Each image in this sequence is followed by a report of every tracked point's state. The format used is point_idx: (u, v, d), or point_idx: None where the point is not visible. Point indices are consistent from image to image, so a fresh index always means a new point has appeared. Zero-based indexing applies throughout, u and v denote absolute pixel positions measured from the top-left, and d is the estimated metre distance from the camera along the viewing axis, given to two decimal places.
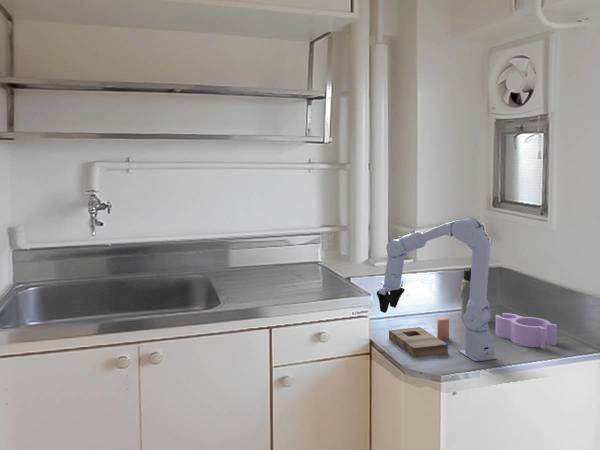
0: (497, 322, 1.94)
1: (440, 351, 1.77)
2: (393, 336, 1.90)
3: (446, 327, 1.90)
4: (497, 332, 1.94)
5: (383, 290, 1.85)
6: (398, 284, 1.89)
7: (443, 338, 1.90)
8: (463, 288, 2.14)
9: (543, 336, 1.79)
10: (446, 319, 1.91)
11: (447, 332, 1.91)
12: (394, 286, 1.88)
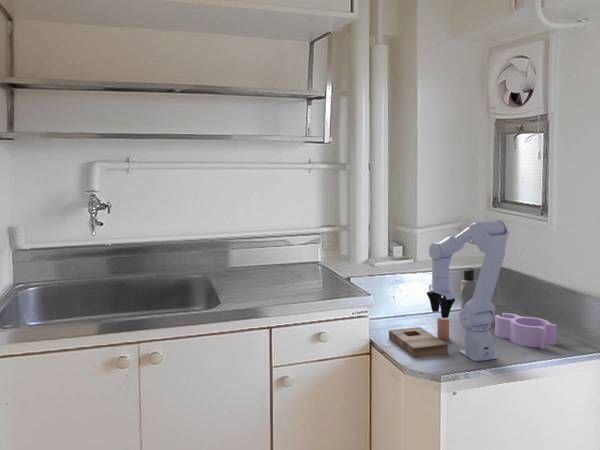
0: (497, 322, 1.94)
1: (440, 351, 1.77)
2: (393, 336, 1.90)
3: (446, 327, 1.90)
4: (497, 332, 1.94)
5: (451, 295, 1.84)
6: None
7: (443, 338, 1.90)
8: (463, 288, 2.14)
9: (543, 336, 1.80)
10: (446, 319, 1.91)
11: (447, 332, 1.91)
12: (448, 289, 1.89)
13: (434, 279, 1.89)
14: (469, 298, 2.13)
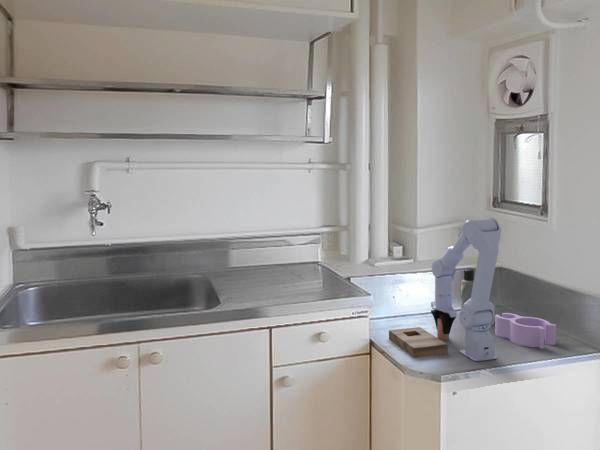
0: (496, 322, 1.94)
1: (440, 351, 1.77)
2: (393, 336, 1.90)
3: None
4: (496, 332, 1.95)
5: (455, 312, 1.84)
6: None
7: (443, 338, 1.90)
8: (463, 288, 2.14)
9: (542, 336, 1.80)
10: None
11: None
12: (451, 306, 1.90)
13: (437, 297, 1.89)
14: (469, 298, 2.13)
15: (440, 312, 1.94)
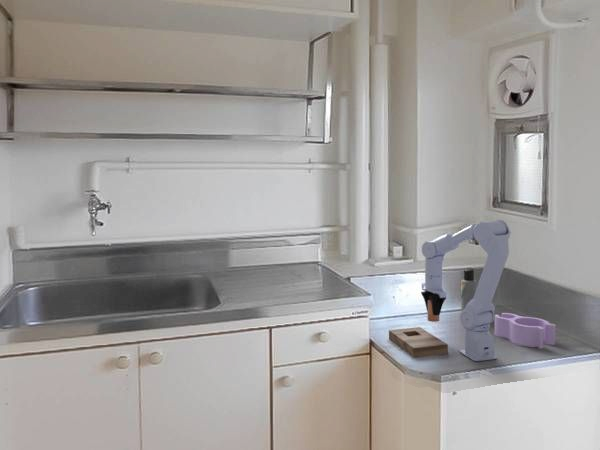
0: (496, 322, 1.94)
1: (440, 351, 1.77)
2: (393, 336, 1.90)
3: None
4: (496, 332, 1.95)
5: (444, 293, 1.83)
6: None
7: (433, 319, 1.89)
8: (463, 288, 2.14)
9: (541, 336, 1.80)
10: None
11: None
12: (441, 287, 1.88)
13: (427, 277, 1.88)
14: (469, 298, 2.13)
15: (430, 293, 1.92)
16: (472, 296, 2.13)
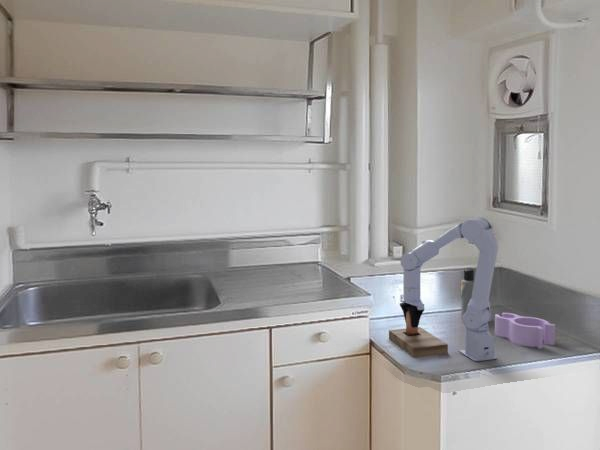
0: (496, 321, 1.95)
1: (440, 351, 1.77)
2: (393, 336, 1.90)
3: None
4: (496, 331, 1.95)
5: (422, 305, 1.81)
6: None
7: (411, 331, 1.87)
8: (463, 288, 2.14)
9: (540, 336, 1.80)
10: None
11: None
12: (419, 299, 1.86)
13: (405, 289, 1.86)
14: (469, 298, 2.13)
15: (409, 305, 1.90)
16: None
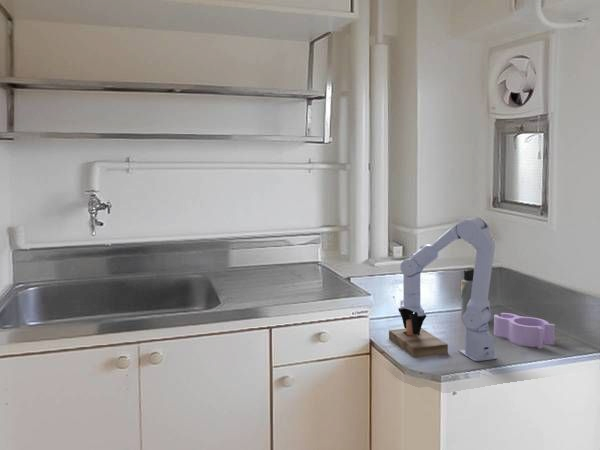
0: (495, 322, 1.94)
1: (440, 351, 1.77)
2: (393, 336, 1.90)
3: None
4: (495, 332, 1.95)
5: (422, 311, 1.81)
6: None
7: None
8: (463, 288, 2.14)
9: (541, 336, 1.80)
10: None
11: (416, 334, 1.88)
12: (419, 305, 1.87)
13: (405, 295, 1.86)
14: (469, 298, 2.13)
15: (407, 310, 1.92)
16: None
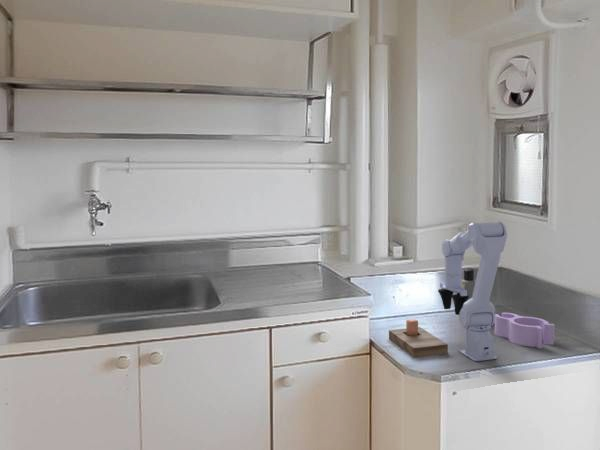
0: (496, 321, 1.95)
1: (440, 351, 1.77)
2: (393, 336, 1.90)
3: (415, 329, 1.87)
4: (496, 331, 1.95)
5: (465, 291, 1.85)
6: None
7: None
8: None
9: (540, 336, 1.80)
10: (415, 320, 1.89)
11: (416, 334, 1.88)
12: (461, 285, 1.90)
13: (447, 276, 1.89)
14: (469, 298, 2.13)
15: (447, 291, 1.95)
16: None
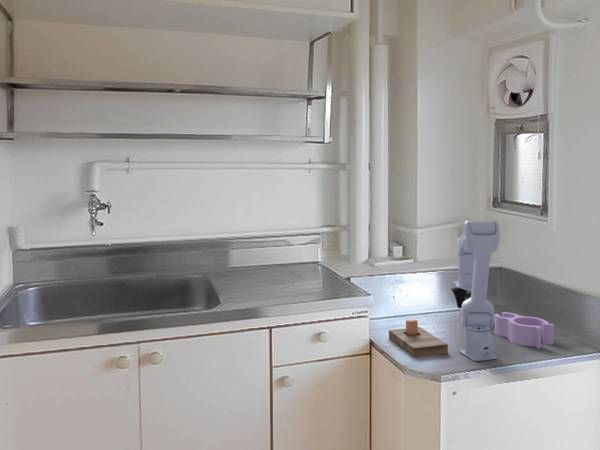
0: (496, 321, 1.95)
1: (440, 351, 1.77)
2: (393, 336, 1.90)
3: (415, 329, 1.87)
4: (496, 331, 1.96)
5: None
6: None
7: None
8: None
9: (539, 335, 1.80)
10: (414, 320, 1.89)
11: (416, 333, 1.88)
12: None
13: (461, 275, 1.91)
14: None
15: (461, 290, 1.96)
16: None
